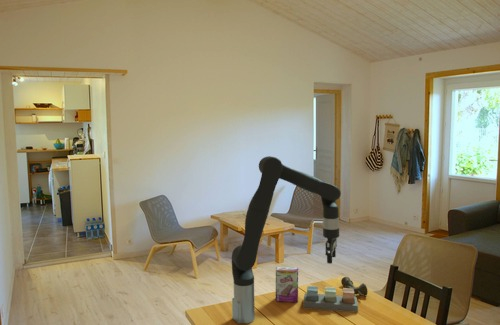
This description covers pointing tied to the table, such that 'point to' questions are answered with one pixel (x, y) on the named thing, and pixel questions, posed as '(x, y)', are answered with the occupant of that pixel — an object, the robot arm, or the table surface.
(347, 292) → the terracotta block
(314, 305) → the charcoal board
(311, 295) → the slate-blue block
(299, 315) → the table surface
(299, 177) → the robot arm
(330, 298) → the sage block
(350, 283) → the kendama
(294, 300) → the candy bar box
